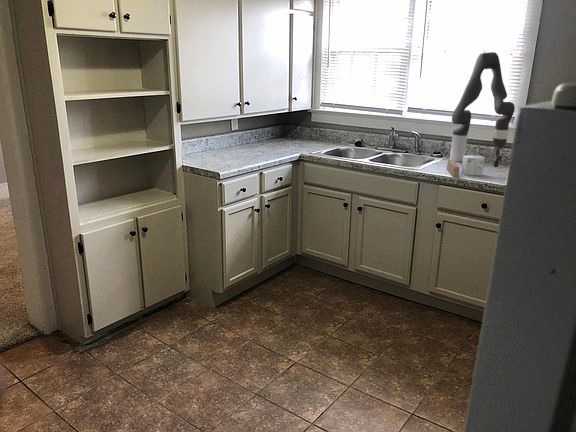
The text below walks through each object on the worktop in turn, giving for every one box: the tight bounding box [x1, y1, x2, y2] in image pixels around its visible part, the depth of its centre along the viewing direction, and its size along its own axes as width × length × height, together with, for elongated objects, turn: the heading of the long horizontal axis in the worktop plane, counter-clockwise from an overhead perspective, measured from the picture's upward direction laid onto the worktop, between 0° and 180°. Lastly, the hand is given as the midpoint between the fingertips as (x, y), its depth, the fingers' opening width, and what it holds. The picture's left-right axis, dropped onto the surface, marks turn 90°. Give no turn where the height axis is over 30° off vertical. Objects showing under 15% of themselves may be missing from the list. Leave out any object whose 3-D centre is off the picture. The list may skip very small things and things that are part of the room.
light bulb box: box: [460, 155, 485, 176], centre depth 283 cm, size 11×7×11 cm, turn 92°
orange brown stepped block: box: [446, 159, 461, 178], centre depth 285 cm, size 20×3×6 cm, turn 173°
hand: (495, 166), depth 281 cm, fingers closed
